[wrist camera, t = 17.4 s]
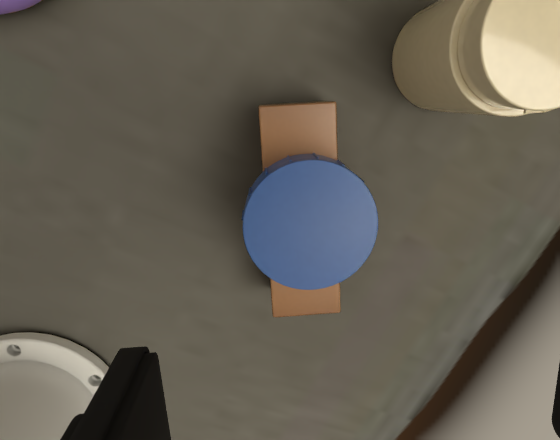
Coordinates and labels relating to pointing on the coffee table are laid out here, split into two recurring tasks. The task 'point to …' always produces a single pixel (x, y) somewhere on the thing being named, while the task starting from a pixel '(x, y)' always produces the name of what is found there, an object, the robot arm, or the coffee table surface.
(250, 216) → the lid
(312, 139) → the block
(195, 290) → the coffee table surface
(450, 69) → the jar
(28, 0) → the donut
